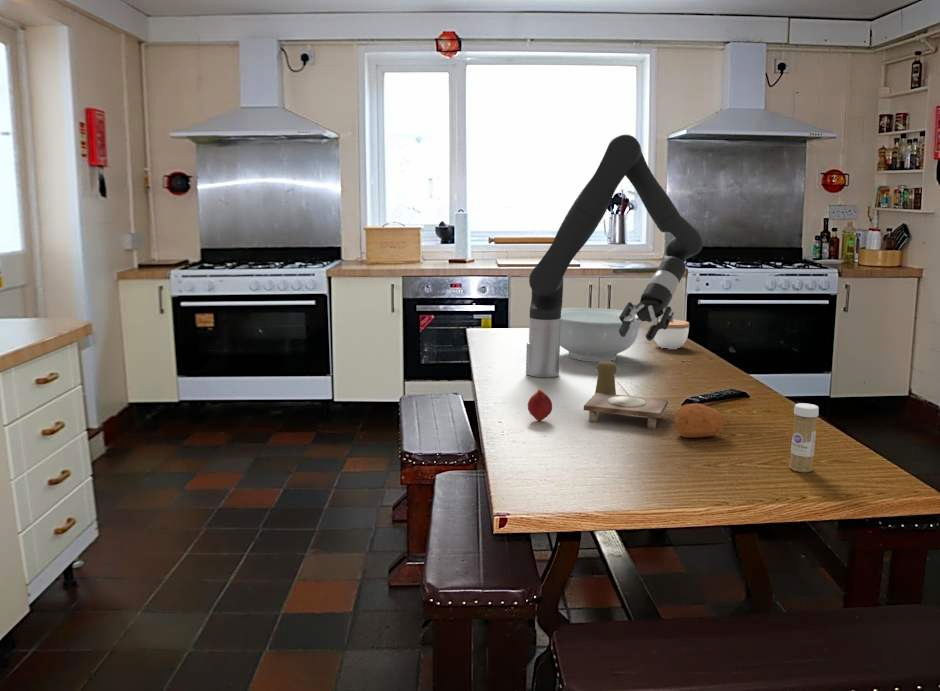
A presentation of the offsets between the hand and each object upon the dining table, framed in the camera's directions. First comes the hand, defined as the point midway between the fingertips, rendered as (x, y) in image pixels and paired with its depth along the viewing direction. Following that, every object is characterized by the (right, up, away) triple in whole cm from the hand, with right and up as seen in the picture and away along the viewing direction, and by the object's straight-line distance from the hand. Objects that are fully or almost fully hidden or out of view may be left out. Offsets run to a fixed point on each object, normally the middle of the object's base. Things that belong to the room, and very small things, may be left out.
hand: (634, 337), depth 233 cm
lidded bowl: (+26, -3, +73) cm, 78 cm away
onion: (-27, -21, -23) cm, 42 cm away
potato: (+8, -23, -34) cm, 42 cm away
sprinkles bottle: (+23, -28, -56) cm, 67 cm away
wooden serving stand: (-6, -20, -21) cm, 30 cm away
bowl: (-4, -6, +54) cm, 54 cm away
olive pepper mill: (-9, -18, -5) cm, 20 cm away
